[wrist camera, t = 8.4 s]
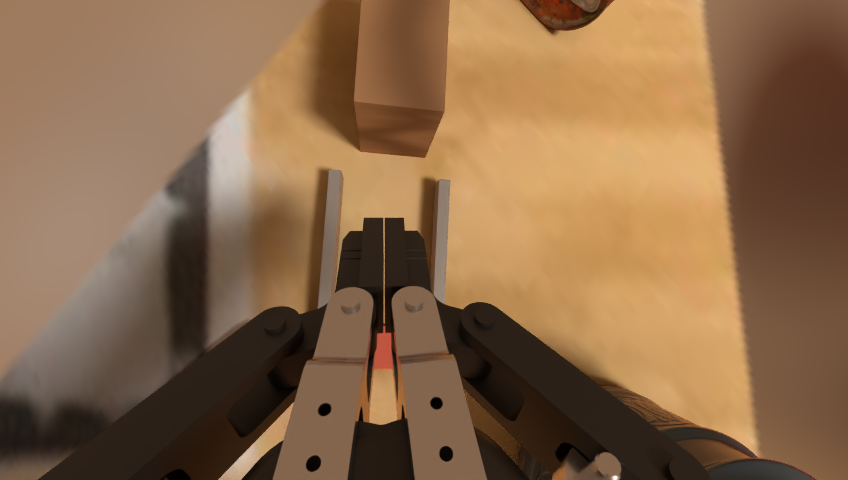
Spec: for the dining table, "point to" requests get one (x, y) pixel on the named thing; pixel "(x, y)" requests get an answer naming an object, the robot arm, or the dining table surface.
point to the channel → (334, 226)
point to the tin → (567, 12)
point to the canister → (690, 446)
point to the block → (400, 75)
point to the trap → (383, 351)
